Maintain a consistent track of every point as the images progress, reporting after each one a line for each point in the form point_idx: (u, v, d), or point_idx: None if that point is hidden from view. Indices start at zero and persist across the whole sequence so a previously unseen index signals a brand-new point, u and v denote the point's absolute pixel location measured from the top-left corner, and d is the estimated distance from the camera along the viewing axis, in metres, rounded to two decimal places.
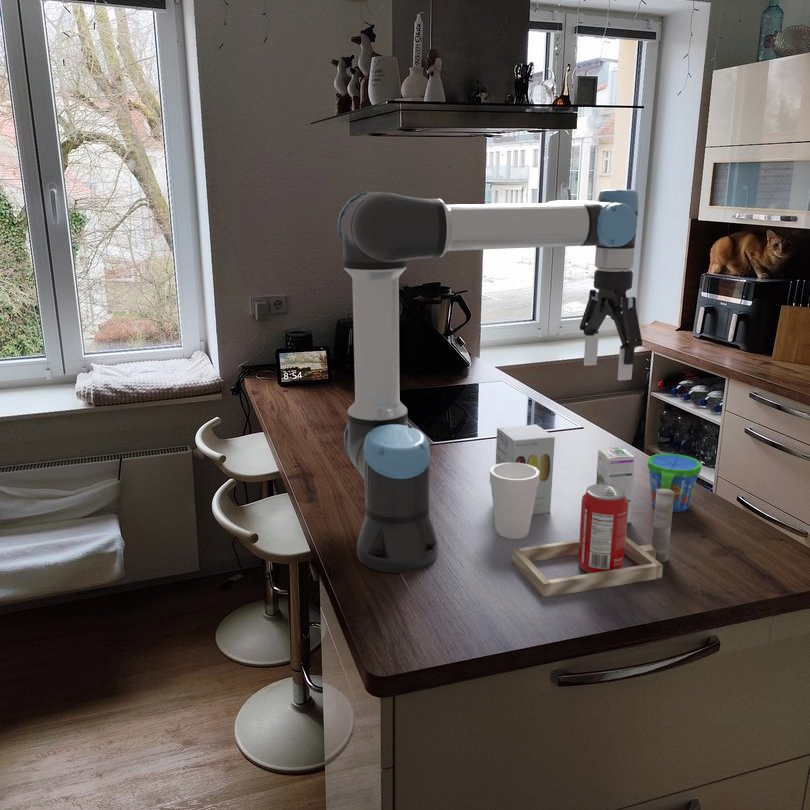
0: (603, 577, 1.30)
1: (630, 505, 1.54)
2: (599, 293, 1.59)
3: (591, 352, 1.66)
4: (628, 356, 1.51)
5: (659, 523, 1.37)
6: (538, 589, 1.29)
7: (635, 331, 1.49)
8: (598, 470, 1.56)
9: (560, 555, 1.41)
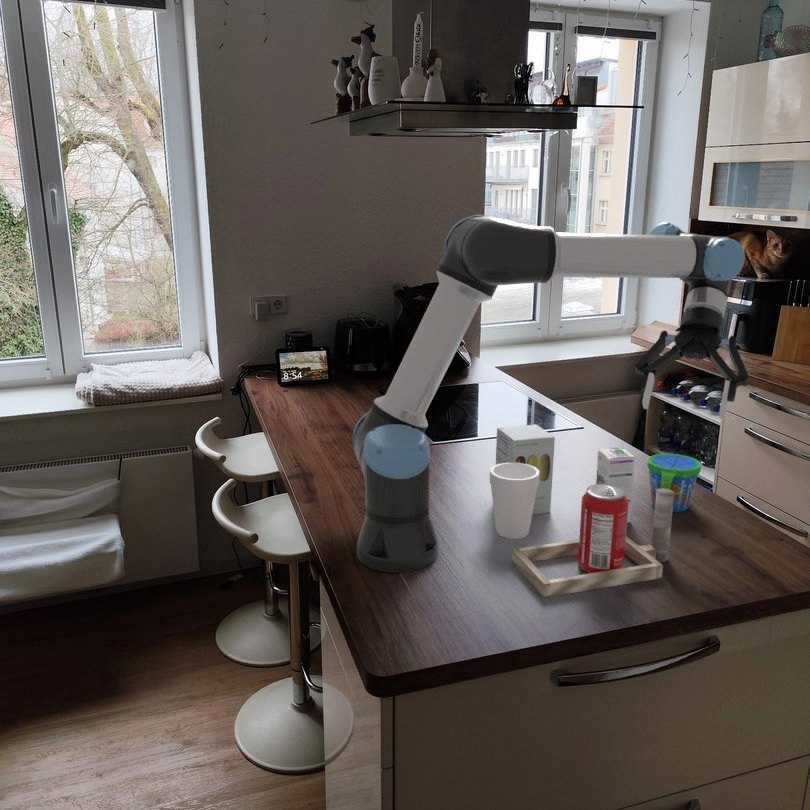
0: (603, 577, 1.30)
1: (630, 505, 1.54)
2: (681, 334, 1.49)
3: (649, 392, 1.46)
4: (735, 390, 1.40)
5: (659, 523, 1.37)
6: (538, 589, 1.29)
7: None
8: (598, 470, 1.56)
9: (560, 555, 1.41)
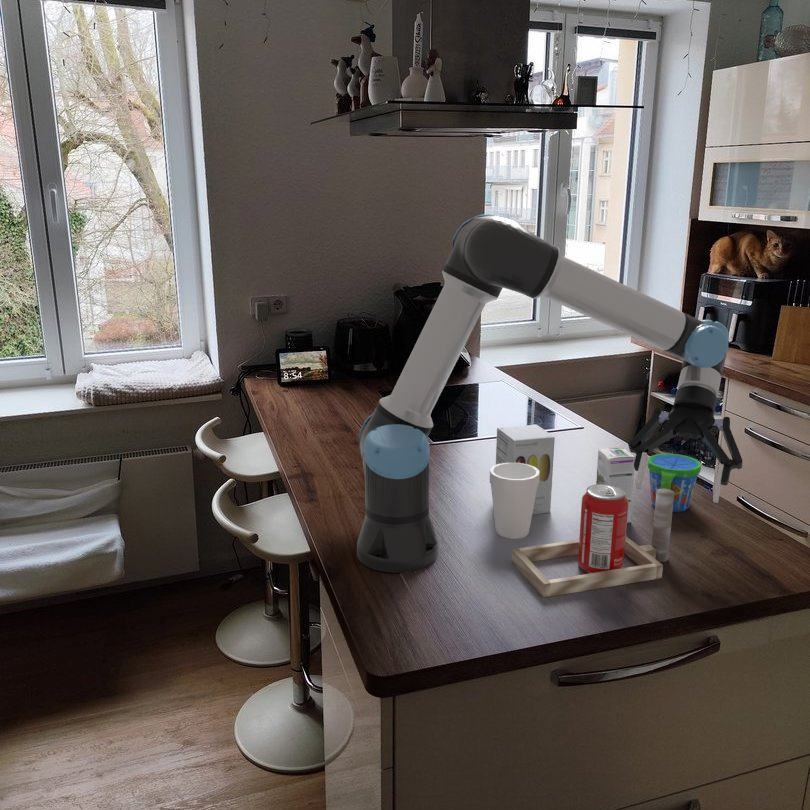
0: (603, 577, 1.30)
1: (630, 505, 1.54)
2: (675, 412, 1.48)
3: (643, 472, 1.45)
4: (729, 474, 1.39)
5: (659, 523, 1.37)
6: (538, 589, 1.29)
7: None
8: (598, 470, 1.56)
9: (560, 555, 1.41)
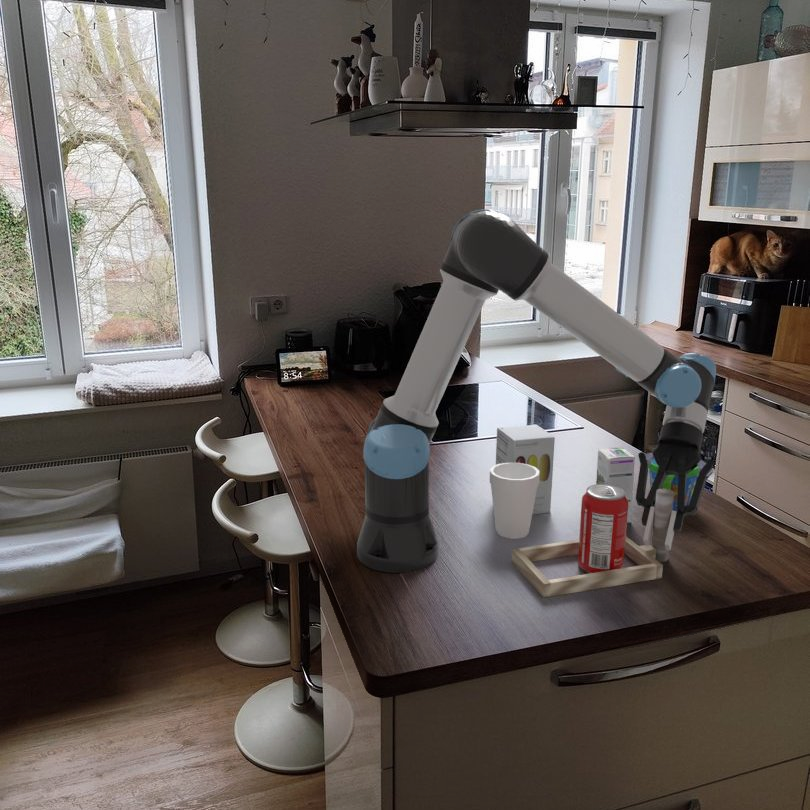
0: (603, 577, 1.30)
1: (630, 505, 1.54)
2: (658, 448, 1.44)
3: (651, 528, 1.38)
4: (681, 521, 1.36)
5: (659, 523, 1.37)
6: (538, 589, 1.29)
7: (699, 499, 1.38)
8: (598, 470, 1.56)
9: (560, 555, 1.41)
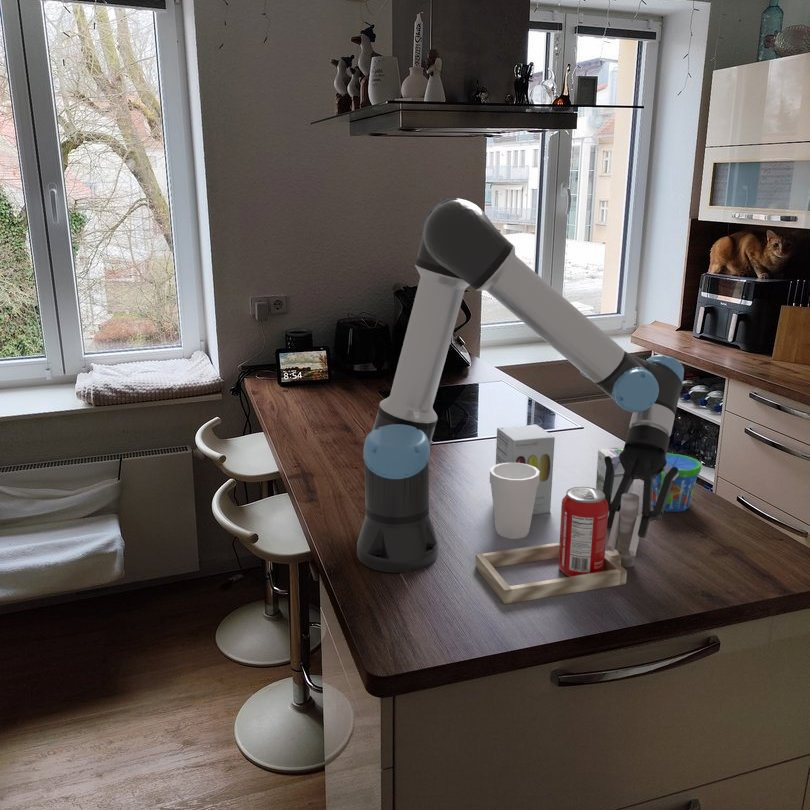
0: (566, 583, 1.28)
1: None
2: (624, 452, 1.42)
3: (616, 533, 1.36)
4: (646, 526, 1.34)
5: (624, 528, 1.35)
6: (499, 595, 1.27)
7: (664, 504, 1.35)
8: (598, 470, 1.56)
9: (525, 560, 1.39)
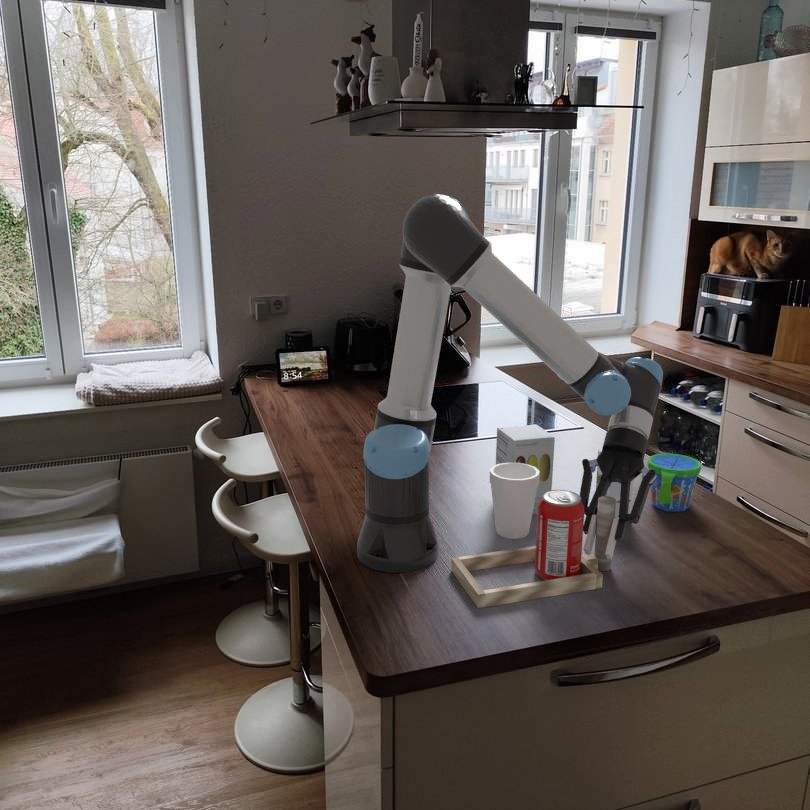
0: (540, 587, 1.27)
1: (630, 505, 1.54)
2: (602, 455, 1.40)
3: (592, 537, 1.34)
4: (623, 530, 1.33)
5: (601, 532, 1.34)
6: (473, 599, 1.26)
7: (642, 507, 1.34)
8: (598, 470, 1.56)
9: (502, 564, 1.38)
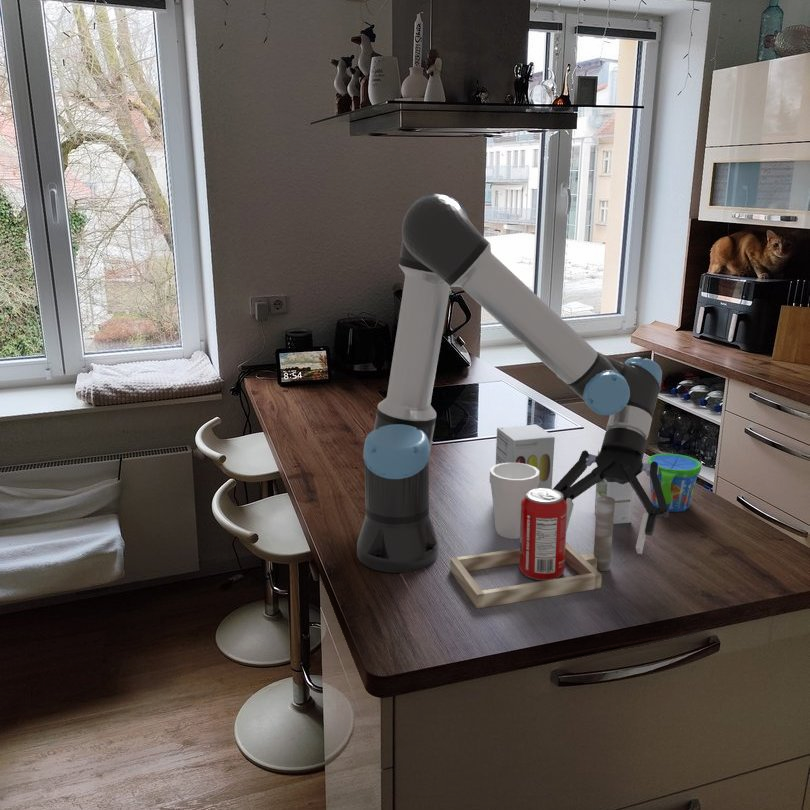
0: (539, 588, 1.27)
1: (630, 505, 1.54)
2: (602, 455, 1.40)
3: (567, 520, 1.38)
4: (653, 524, 1.31)
5: (600, 532, 1.34)
6: (472, 600, 1.26)
7: None
8: None
9: (500, 564, 1.38)
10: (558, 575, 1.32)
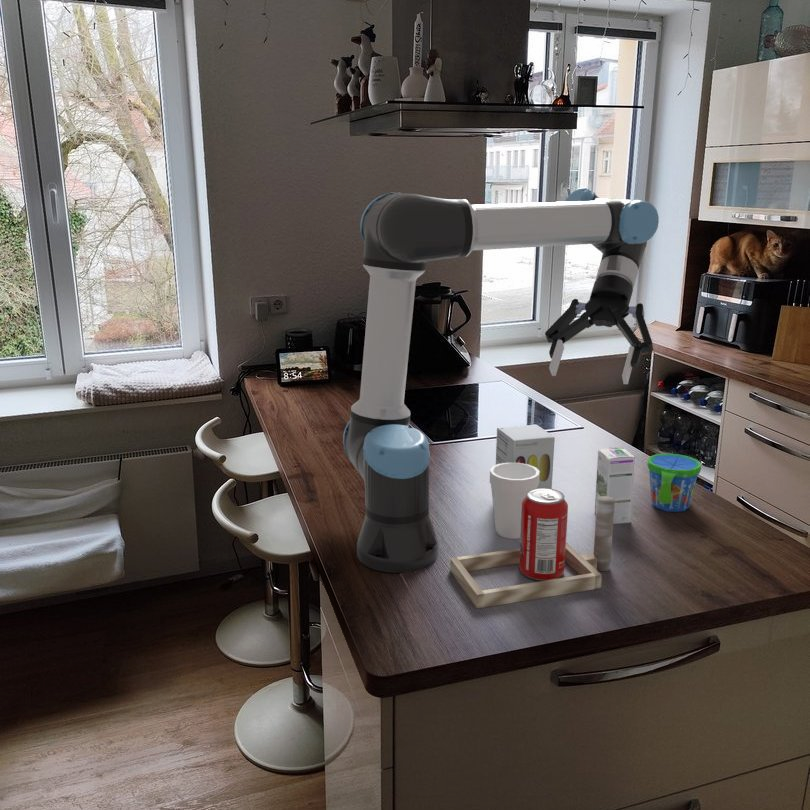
0: (539, 588, 1.27)
1: (630, 505, 1.54)
2: (591, 301, 1.49)
3: (557, 359, 1.47)
4: (639, 356, 1.40)
5: (600, 532, 1.34)
6: (472, 600, 1.26)
7: None
8: (598, 470, 1.56)
9: (500, 564, 1.38)
10: (558, 575, 1.33)
